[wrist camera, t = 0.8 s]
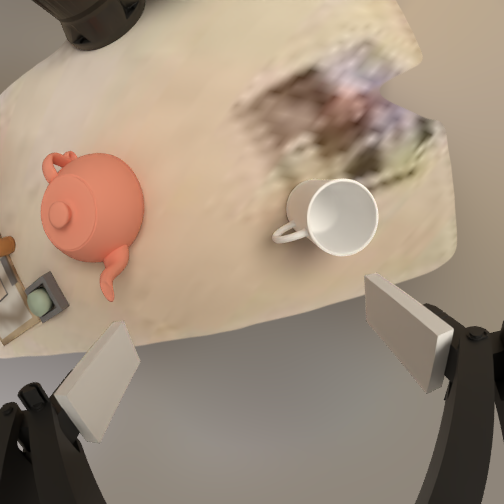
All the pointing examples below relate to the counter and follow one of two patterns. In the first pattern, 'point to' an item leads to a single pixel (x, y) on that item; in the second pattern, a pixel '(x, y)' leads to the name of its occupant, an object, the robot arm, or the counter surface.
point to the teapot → (92, 210)
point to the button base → (53, 293)
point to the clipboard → (13, 303)
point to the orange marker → (6, 246)
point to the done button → (39, 302)
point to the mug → (331, 215)
